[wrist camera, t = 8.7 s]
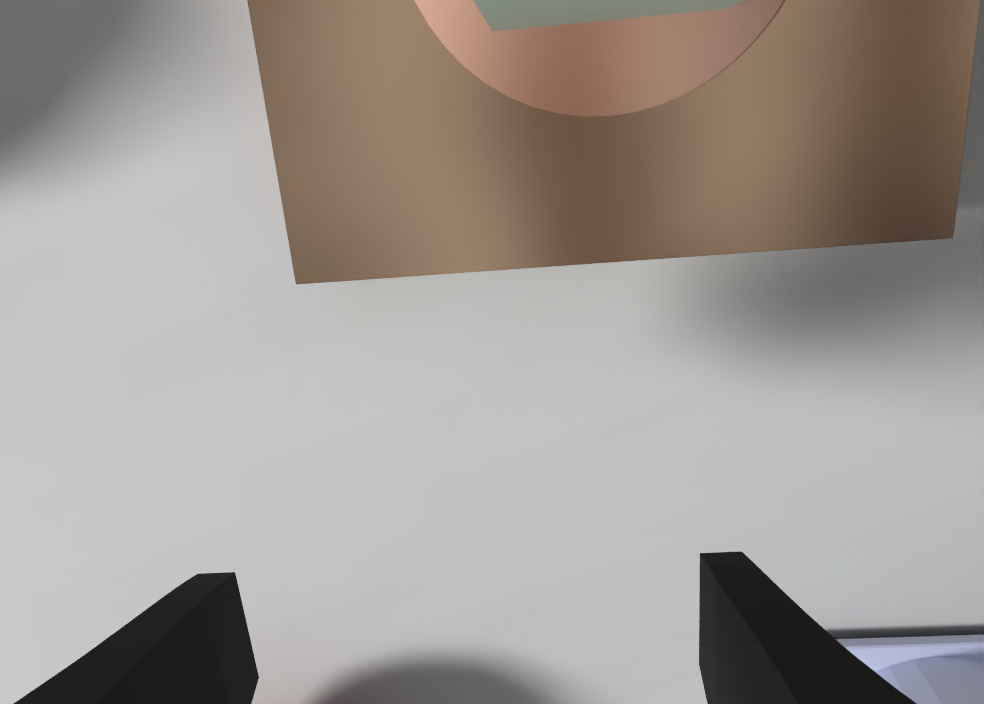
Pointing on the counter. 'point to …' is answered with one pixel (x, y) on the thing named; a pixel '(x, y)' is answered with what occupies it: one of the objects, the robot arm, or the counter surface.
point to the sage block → (583, 10)
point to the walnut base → (609, 132)
